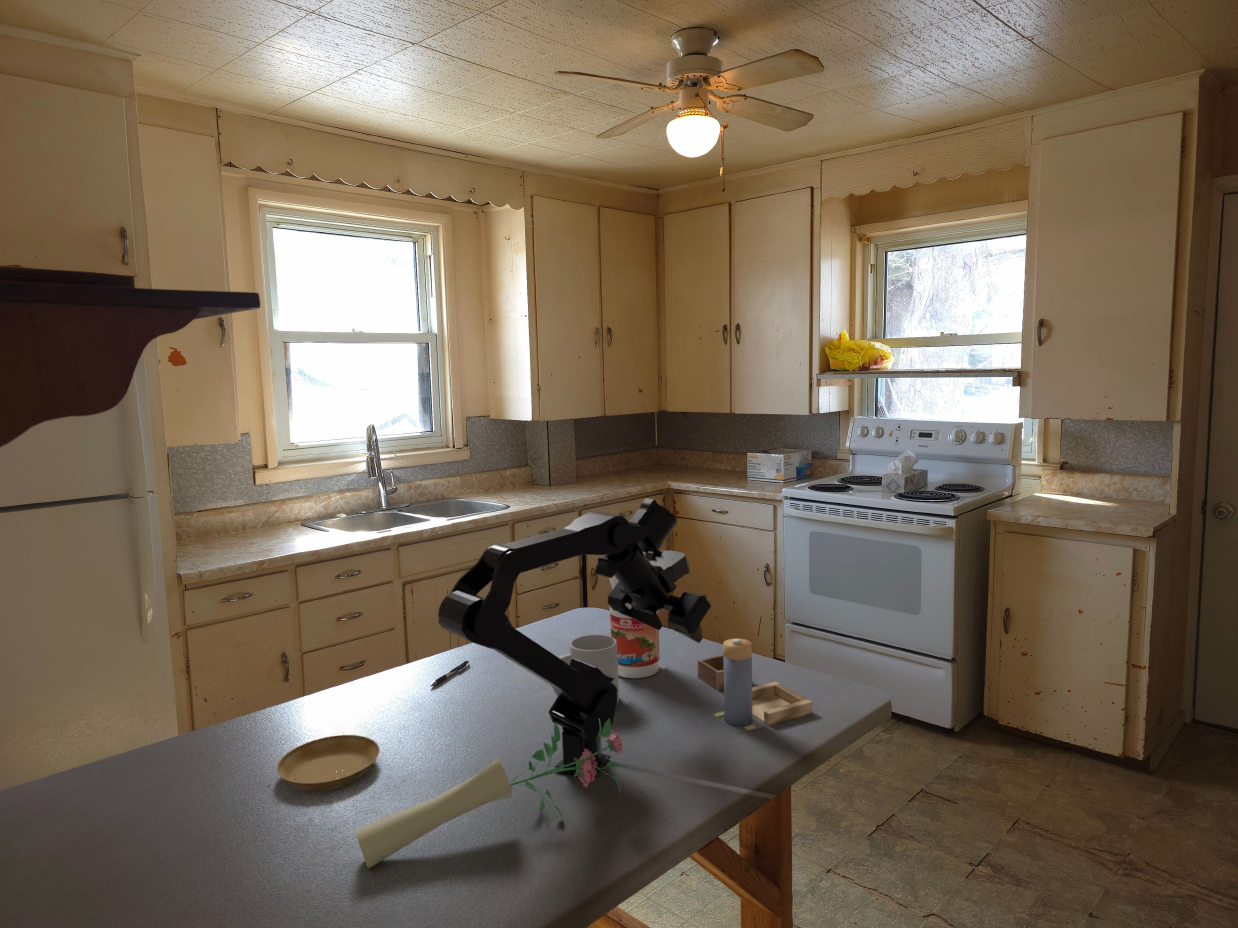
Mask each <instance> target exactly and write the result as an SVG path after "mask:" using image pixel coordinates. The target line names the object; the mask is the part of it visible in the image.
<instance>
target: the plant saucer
mask: <svg viewBox="0 0 1238 928" xmlns="http://www.w3.org/2000/svg"><path fill="white" fill-rule="evenodd" d="M379 755H380V746H379V744H378V743H377V742H376V741H375V740H374V739H372V738H370V737H366V736H363V735H357V734H339V735H332V736H325V737H321V738H317V739H314V740H311V741H308V742H305V743H303V744H301V745H299V746H296V747H294V748H293V749H291V750H290V751H288V752H287V753H286V754H284V755H283V756H282V757H281V758H280V760H279V761H278V762H277V765H276V773H277V775H278V776H279V777H280V778H281V779H282V780H283V781H285V783H288V784H289V785H290V786H291V787H292V786H293V787H294V788H296V789H299V790H301V789H302V790H303V791H307V792H323V791H324V790H325V791H329V790H330V789H331V790H335V789H338V788H337V787H339V788H341V786H342V787H344V785H345V786H347V785H350V784H351V783H353V782H355V781H356V780H358V779H359V778H361V777H362V776H363V775H364V774H366V772H368V770H370V768H371V767H372V766H373V764H374V763H375V762H376V761H377V759H378V757H379ZM342 770H343V771H342ZM336 771H337V772H336ZM337 778H338V779H337ZM334 788H335V789H334ZM331 790H330V791H331Z"/></svg>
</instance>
